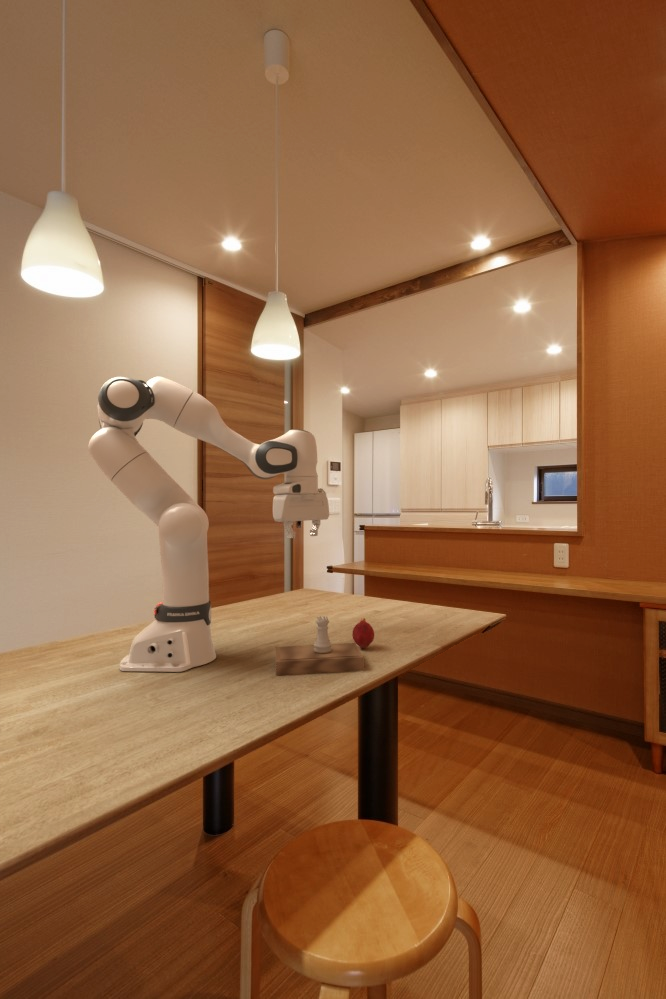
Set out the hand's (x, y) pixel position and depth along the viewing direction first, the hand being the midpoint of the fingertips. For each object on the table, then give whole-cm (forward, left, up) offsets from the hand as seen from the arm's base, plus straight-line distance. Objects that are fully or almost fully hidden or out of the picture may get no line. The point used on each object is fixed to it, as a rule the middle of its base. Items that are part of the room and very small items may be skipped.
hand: (302, 537), depth 139 cm
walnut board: (+2, -21, -29) cm, 36 cm away
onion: (+15, -10, -29) cm, 34 cm away
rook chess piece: (+3, -21, -26) cm, 34 cm away
